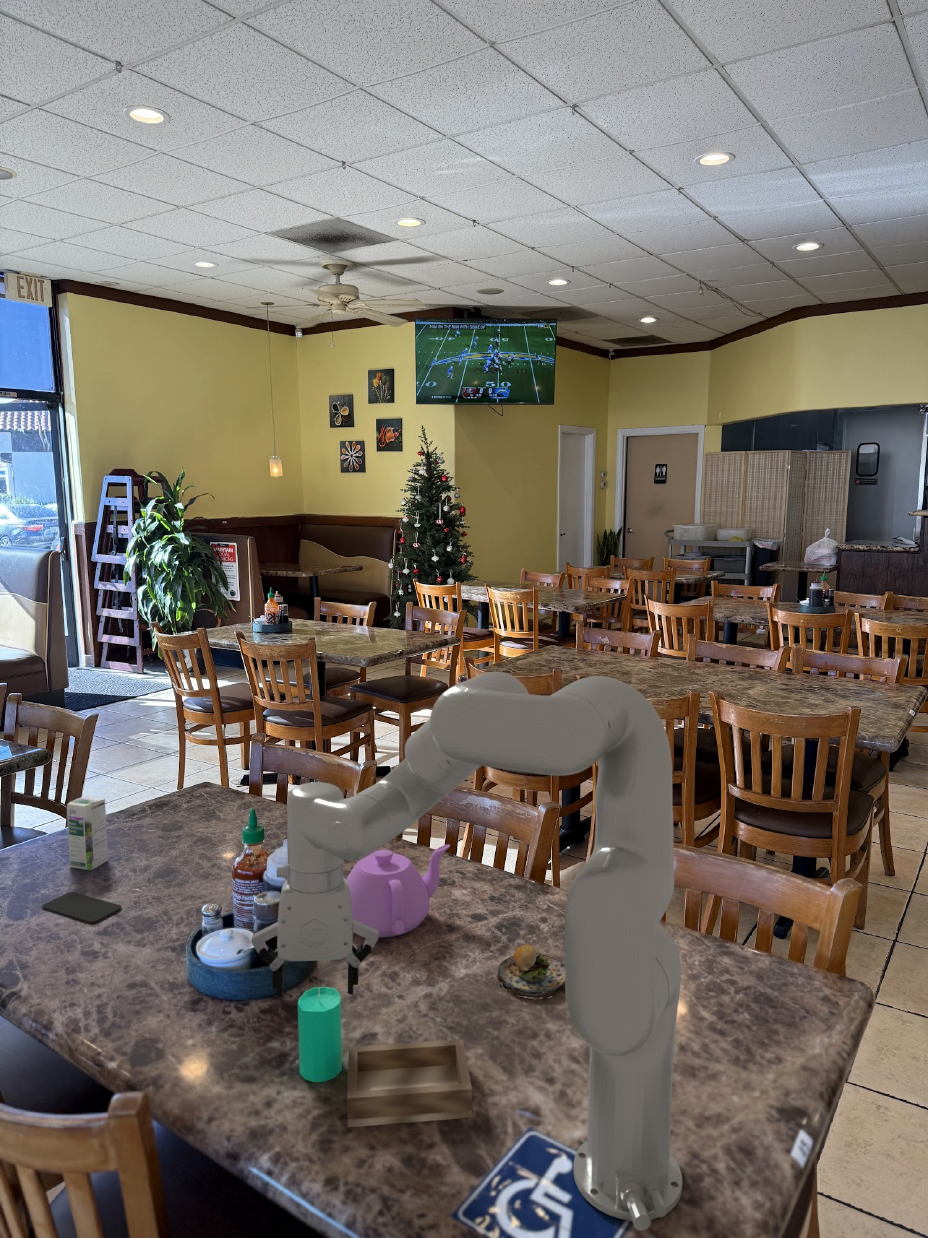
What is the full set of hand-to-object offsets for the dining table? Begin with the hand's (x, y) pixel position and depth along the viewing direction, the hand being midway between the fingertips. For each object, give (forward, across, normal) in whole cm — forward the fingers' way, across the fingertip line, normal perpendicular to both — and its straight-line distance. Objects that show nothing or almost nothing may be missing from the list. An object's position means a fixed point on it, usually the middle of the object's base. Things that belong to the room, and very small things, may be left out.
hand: (315, 990), depth 119 cm
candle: (+12, +1, 0) cm, 12 cm away
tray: (+11, +13, -7) cm, 18 cm away
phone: (+14, -48, +52) cm, 73 cm away
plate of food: (+12, +35, +18) cm, 41 cm away
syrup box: (+14, -53, +74) cm, 92 cm away
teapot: (+12, +13, +42) cm, 45 cm away
